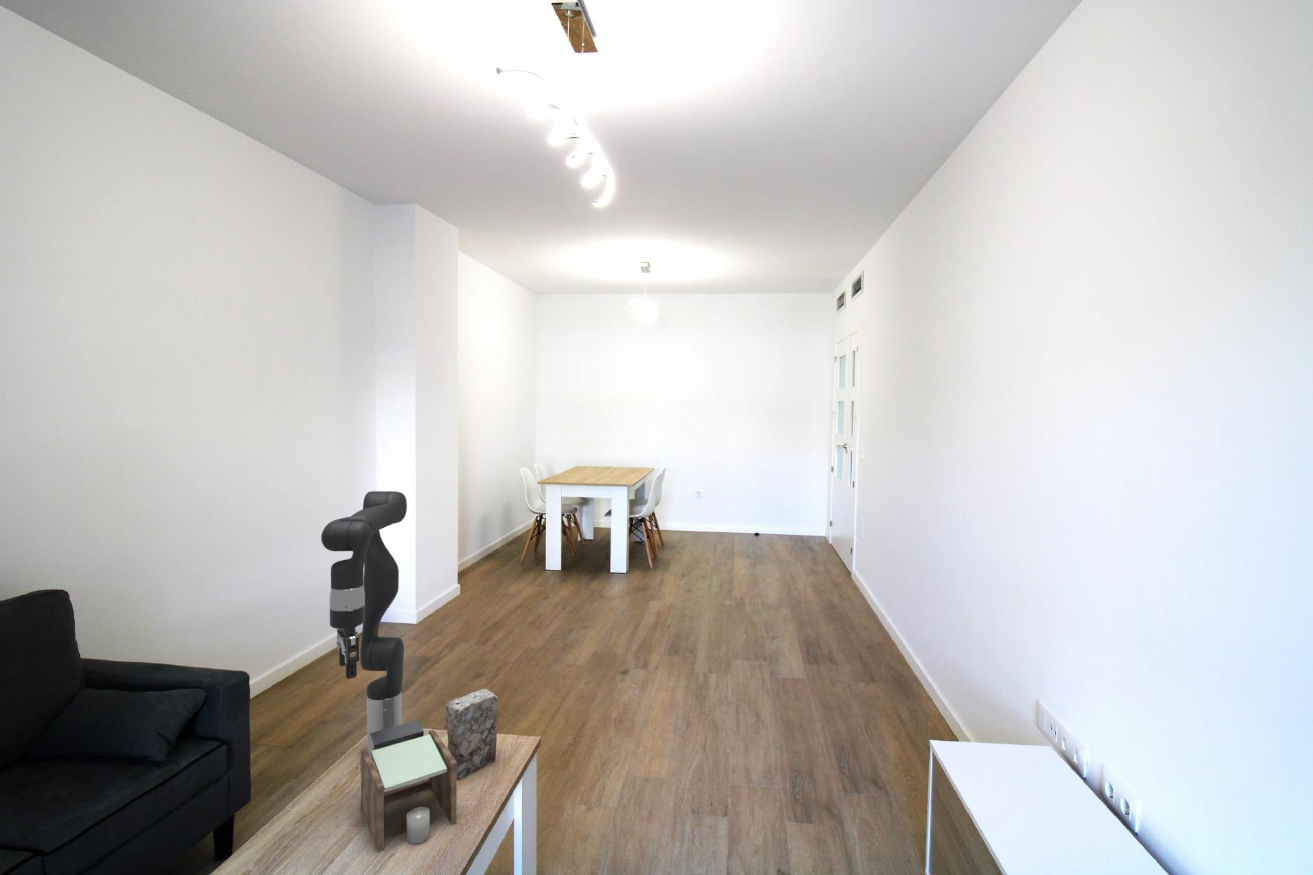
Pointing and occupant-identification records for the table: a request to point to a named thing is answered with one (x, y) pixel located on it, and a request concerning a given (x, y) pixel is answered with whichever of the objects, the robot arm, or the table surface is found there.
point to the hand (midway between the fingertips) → (347, 671)
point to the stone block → (472, 731)
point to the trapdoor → (404, 755)
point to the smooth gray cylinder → (418, 825)
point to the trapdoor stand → (405, 791)
